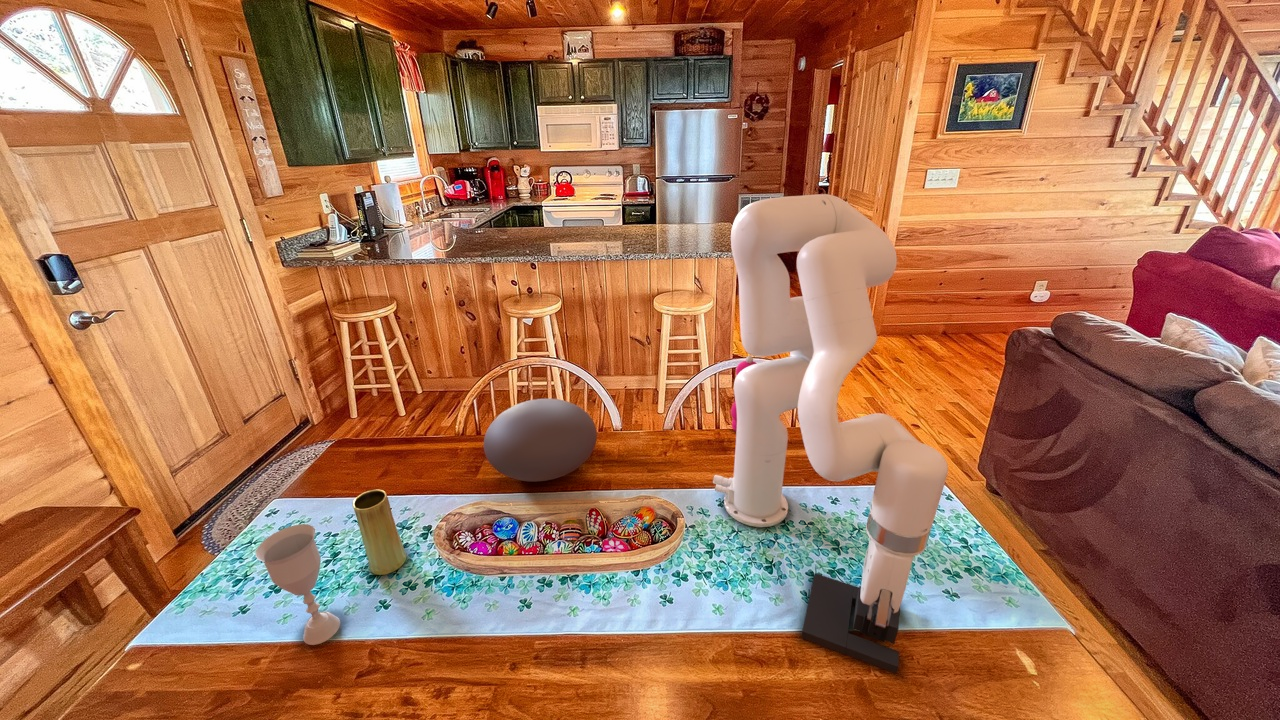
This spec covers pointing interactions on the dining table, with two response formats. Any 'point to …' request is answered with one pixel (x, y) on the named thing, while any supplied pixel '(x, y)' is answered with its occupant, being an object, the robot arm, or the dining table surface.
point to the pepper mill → (739, 368)
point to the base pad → (841, 624)
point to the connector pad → (863, 608)
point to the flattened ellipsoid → (540, 440)
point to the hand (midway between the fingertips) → (874, 618)
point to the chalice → (298, 575)
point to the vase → (379, 532)
